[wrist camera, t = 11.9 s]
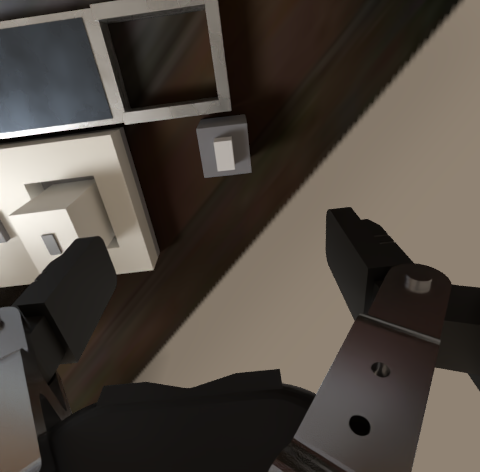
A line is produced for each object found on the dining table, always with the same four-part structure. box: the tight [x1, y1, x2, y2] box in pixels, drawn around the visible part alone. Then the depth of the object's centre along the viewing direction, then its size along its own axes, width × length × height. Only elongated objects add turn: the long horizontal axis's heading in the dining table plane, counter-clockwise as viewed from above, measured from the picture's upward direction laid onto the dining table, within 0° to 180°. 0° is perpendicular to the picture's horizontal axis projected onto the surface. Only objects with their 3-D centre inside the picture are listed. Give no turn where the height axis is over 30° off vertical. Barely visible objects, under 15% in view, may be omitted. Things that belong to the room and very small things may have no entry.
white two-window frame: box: [0, 0, 231, 139], centre depth 22 cm, size 7×22×2 cm, turn 97°
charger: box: [8, 179, 115, 274], centre depth 25 cm, size 5×4×6 cm
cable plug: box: [196, 114, 251, 178], centre depth 23 cm, size 4×4×5 cm
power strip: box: [0, 127, 160, 287], centre depth 27 cm, size 12×21×4 cm, turn 97°
